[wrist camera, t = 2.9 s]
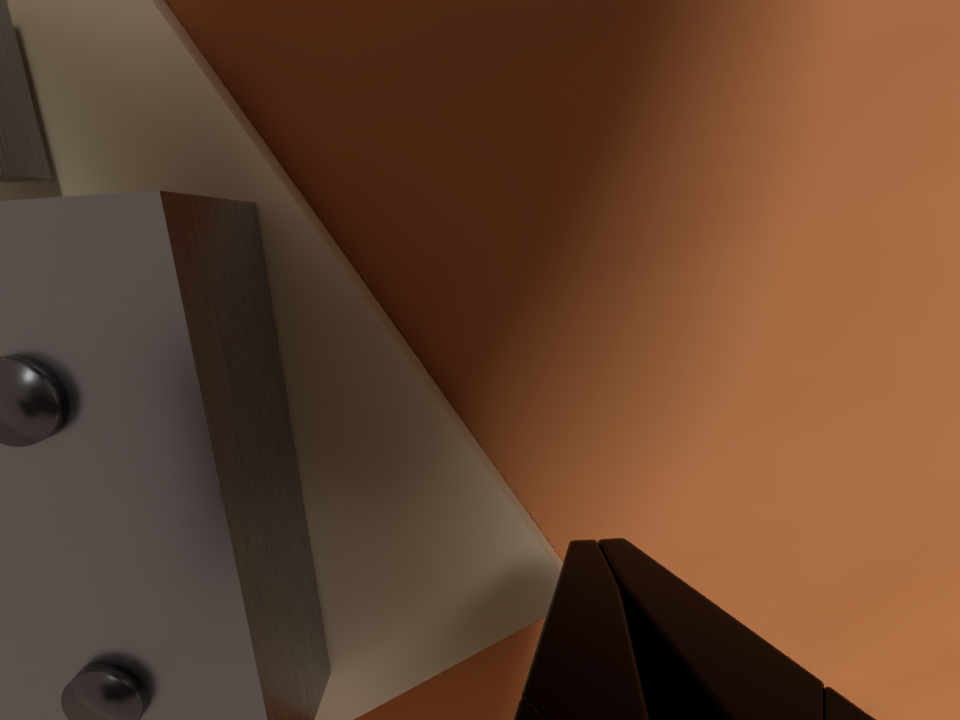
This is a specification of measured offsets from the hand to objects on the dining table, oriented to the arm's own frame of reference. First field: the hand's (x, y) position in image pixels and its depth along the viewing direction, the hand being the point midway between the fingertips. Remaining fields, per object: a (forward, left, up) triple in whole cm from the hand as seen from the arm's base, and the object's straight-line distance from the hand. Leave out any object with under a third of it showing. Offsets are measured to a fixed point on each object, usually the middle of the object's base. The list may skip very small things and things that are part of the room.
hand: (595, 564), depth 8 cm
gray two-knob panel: (+5, -6, -1) cm, 8 cm away
